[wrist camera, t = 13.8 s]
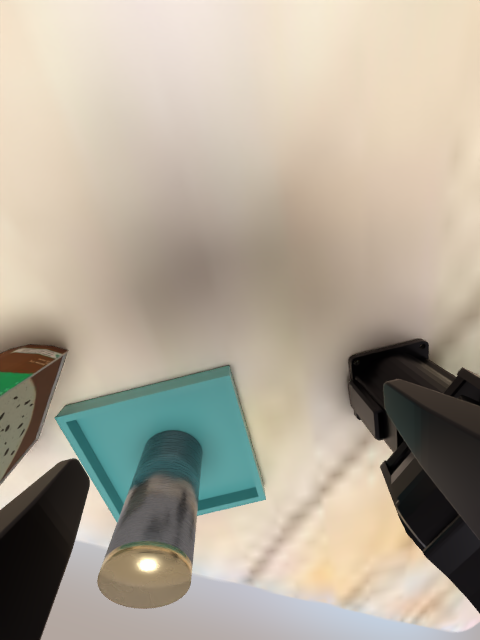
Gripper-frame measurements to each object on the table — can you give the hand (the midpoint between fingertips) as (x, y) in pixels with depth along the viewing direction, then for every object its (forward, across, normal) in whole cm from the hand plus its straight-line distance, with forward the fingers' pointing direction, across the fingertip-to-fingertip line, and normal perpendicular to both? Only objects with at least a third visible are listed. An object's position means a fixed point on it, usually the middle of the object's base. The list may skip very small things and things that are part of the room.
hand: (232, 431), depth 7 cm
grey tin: (+12, +8, +12) cm, 19 cm away
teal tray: (+13, +8, +12) cm, 19 cm away
